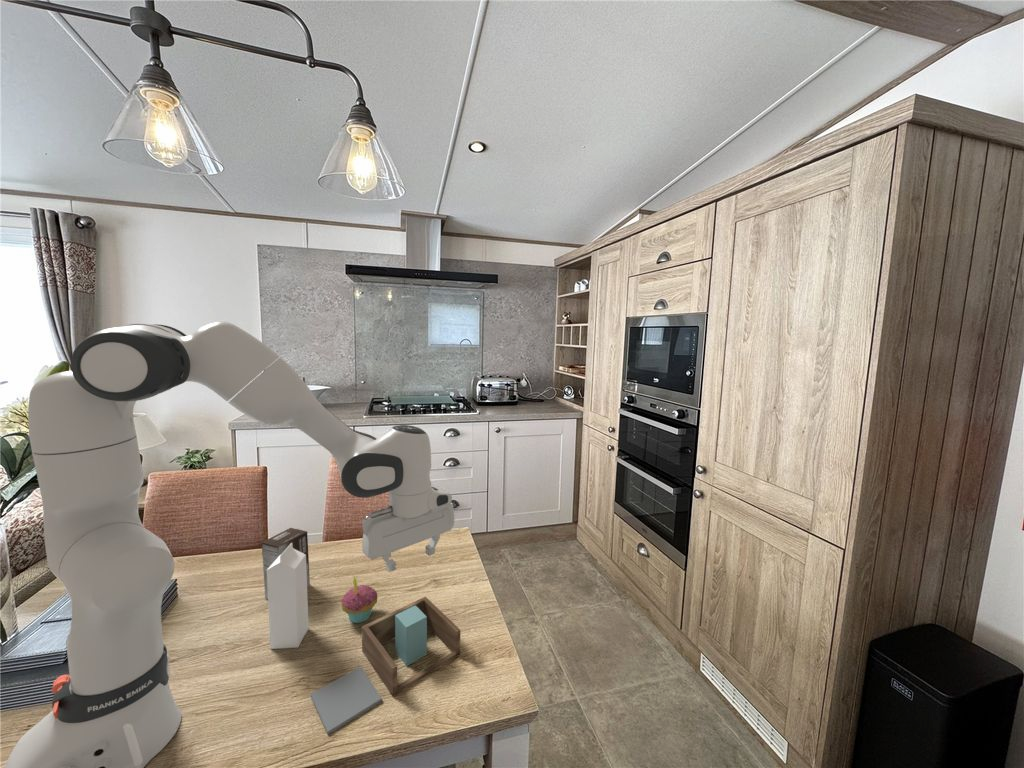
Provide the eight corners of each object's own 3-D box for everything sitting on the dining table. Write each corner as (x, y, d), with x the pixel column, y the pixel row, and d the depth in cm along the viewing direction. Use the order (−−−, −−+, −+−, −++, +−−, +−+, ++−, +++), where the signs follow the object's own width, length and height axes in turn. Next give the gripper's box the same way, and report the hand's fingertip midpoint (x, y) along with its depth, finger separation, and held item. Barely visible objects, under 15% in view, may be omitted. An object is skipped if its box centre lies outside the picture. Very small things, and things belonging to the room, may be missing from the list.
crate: (392, 696, 78) (392, 668, 77) (362, 651, 89) (361, 626, 88) (460, 654, 89) (460, 629, 88) (425, 618, 100) (425, 596, 99)
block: (406, 666, 85) (405, 627, 84) (395, 652, 89) (395, 615, 88) (426, 654, 89) (426, 616, 88) (415, 641, 92) (415, 605, 91)
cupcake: (365, 631, 95) (364, 584, 94) (333, 625, 97) (332, 579, 95) (383, 607, 103) (383, 564, 102) (354, 602, 105) (353, 559, 104)
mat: (327, 734, 70) (327, 731, 70) (310, 696, 78) (310, 693, 78) (381, 701, 77) (381, 698, 77) (361, 668, 84) (361, 666, 84)
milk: (270, 649, 89) (264, 556, 86) (282, 629, 95) (277, 542, 92) (298, 647, 90) (294, 555, 87) (309, 628, 96) (305, 541, 93)
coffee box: (293, 579, 114) (291, 526, 112) (310, 585, 112) (308, 530, 110) (263, 599, 106) (260, 541, 104) (281, 605, 103) (279, 546, 102)
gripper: (368, 520, 75) (370, 588, 77) (458, 493, 89) (458, 551, 91) (355, 509, 80) (357, 573, 82) (442, 484, 94) (442, 540, 96)
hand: (411, 561), depth 86 cm, fingers open, 8 cm apart
